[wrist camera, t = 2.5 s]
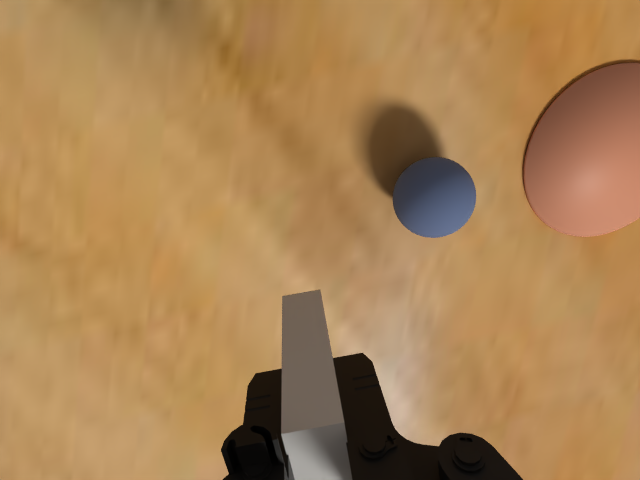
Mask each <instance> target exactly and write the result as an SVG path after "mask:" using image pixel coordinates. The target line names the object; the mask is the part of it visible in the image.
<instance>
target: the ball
mask: <svg viewBox="0 0 640 480" xmlns="http://www.w3.org/2000/svg"><path fill="white" fill-rule="evenodd" d="M475 203H476V190H475V186H474V183H473V180H472V178H471V176H470V175H469V173H468V172H467V171H466V170H465V169H464V168H463V167H462V166H461V165H459V164H458V163H456V162H454V161H452V160H449V159H446V158H441V157H431V158H425V159H422V160H419V161H417V162H415V163H413V164H412V165H410V166H409V167H408V168H406V169H405V170H404V171H403V172H402V174H401V175H400V176H399V178H398V180H397V182H396V184H395V187H394V191H393V206H394V210H395V213H396V215H397V217H398V219H399V220H400V222H401V223H402V224H403V225H404V226H405V227H406V228H407V229H408V230H410V231H411V232H413V233H415V234H417V235H420V236H423V237H431V238H436V237H443V236H446V235H449V234H452V233H454V232H455V231H457V230H458V229H460V228H461V227H462V226H463V225H464V224H465V223H466V222H467V221H468V219H469V218H470V216H471V215H472V213H473V210H474V207H475Z"/></svg>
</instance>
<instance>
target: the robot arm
mask: <svg viewBox="0 0 640 480" xmlns="http://www.w3.org/2000/svg"><path fill="white" fill-rule="evenodd" d="M246 400H247V402H246V406H245V414H244V422H243V425H241V426H240V427H238V428H237V429H235V430H234V431H232V432H231V433H230V434H229V436H228V437H227V438H226V439H225V441H224V443H223V446H222V448H221V452H222V455H223V458H224V461H225V463H226V466H227V469H228V472H229V474H228V475H227V476H226V477H225V478H224V479H223V480H523V479H522V478H521V477H520V476H519V475H518V473H517V472H516V471H515V470H514V469H513V468H512V467H511V466H510V465H509V464H508V462H507V461H506V460H505V459H504V458H503V457H502V456H501V455H500V454H499V453H498V452H497V450H496V449H495V448H494V447H493V446H492V445H491V444H489V443H488V442H487V441H486V440H484V439H483V438H481V437H478V436H476V435H473V434H468V433H457V434H453V435H449V436H448V437H447V438H445V439H444V440H442V442H441V444H440V446H430V445H422V444H417V443H414V442H411V441H409V440H407V439H405V438H404V437H402V436H401V435H400V434H399V433H398V432H397V431H396V430H395V428H394V426H393V424H392V421H391V418H390V415H389V412H388V409H387V406H386V403H385V400H384V397H383V393H382V390H381V387H380V385H379V381H378V378H377V376H376V372H375V369H374V366H373V363H372V361H371V360H370V359H369V358H368V357H367V356H366V355H364V354H363V353H359V354H353V355H348V356H342V357H337V358H333V357H332V352H331V346H330V341H329V335H328V330H327V324H326V319H325V313H324V308H323V302H322V297H321V291H320V290H315V291H309V292H303V293H298V294H292V295H287V296H282V369H277V370H272V371H266V372H261V373H256V374H255V375H254V377H253V379H252V380H251V382H250V383H249V385H248V389H247V397H246Z"/></svg>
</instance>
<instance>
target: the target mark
mask: <svg viewBox="0 0 640 480" xmlns="http://www.w3.org/2000/svg"><path fill="white" fill-rule="evenodd" d="M523 179H524V188H525V192H526V195H527V199H528V201H529V203H530V205H531V207H532V209H533V210H534V212H535V214H536V215H537V216H538V217H539V218H540V219H541V220H542V221H543V222H544V223H545V224H547V225H548V226H549V227H551V228H553V229H555V230H557V231H559V232H562V233H564V234H568V235H573V236H583V237H587V236H597V235H602V234H606V233H610V232H613V231H616V230H618V229H620V228H622V227H625V226H627V225H628V224H630V223H632V222H634V221H635V220H637V219H638V218H640V63H621V64H616V65H610V66H607V67H604V68H601V69H598V70H596V71H594V72H591V73H589V74H587V75H585V76H584V77H582V78H581V79H579V80H577V81H576V82H574V83H573V84H572V85H571V86H569V87H568V88H567V89H565V90H564V91H563V92H562V93H561V94H560V95H559V96H558V97H557V98H556V99H555V100H554V101H553V102H552V104H551V105H550V106H549V107H548V109H547V110H546V111H545V113H544V114H543V116H542V117H541V119H540V120H539V122H538V124H537V126H536V127H535V129H534V131H533V133H532V136H531V139H530V141H529V144H528V147H527V151H526V155H525V161H524V171H523Z"/></svg>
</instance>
